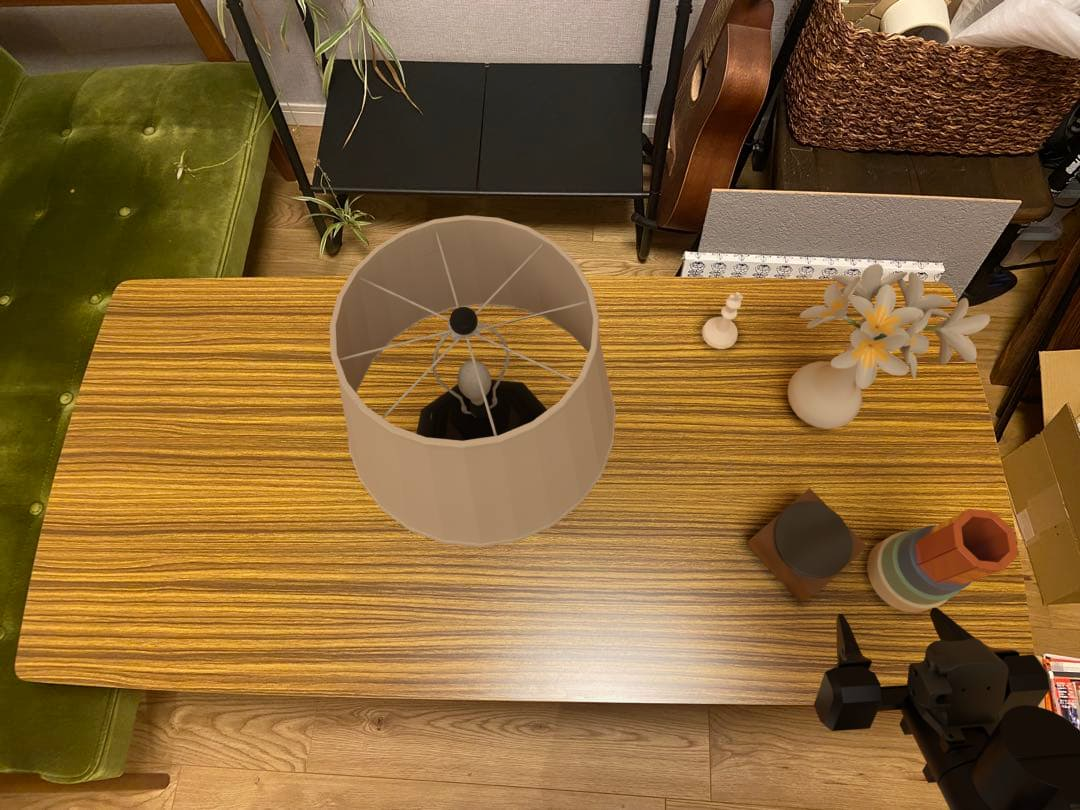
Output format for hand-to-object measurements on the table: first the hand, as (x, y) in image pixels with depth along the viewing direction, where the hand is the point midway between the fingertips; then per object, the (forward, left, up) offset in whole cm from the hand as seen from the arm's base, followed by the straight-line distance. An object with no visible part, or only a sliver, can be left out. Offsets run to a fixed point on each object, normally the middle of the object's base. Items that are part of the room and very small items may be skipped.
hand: (885, 613), depth 68 cm
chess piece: (+37, -18, -15) cm, 44 cm away
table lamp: (+39, +20, -15) cm, 46 cm away
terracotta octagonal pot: (-1, -12, -6) cm, 14 cm away
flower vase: (+21, -21, -15) cm, 34 cm away
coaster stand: (+9, -4, -15) cm, 18 cm away
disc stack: (-1, -12, -15) cm, 20 cm away
